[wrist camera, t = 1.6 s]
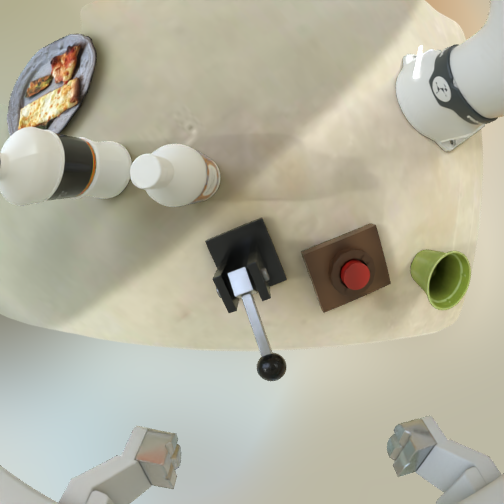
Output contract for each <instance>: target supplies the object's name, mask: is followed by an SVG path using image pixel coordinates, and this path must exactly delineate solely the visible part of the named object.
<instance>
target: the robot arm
mask: <svg viewBox="0 0 504 504" xmlns="http://www.w3.org/2000/svg"><path fill="white" fill-rule="evenodd" d="M422 47H423V46H422V45H421V46H419V50H418V55H413V54H407V55H405V56H404V58H403V68H402V70H401V72H400V73H399V75H398V77H397V81H396V94H397V99H398V102H399V105H400V107H401V110H402V112H403V113H404V115H405V117H406V118H407V120H408V121H409V122H410V124H411V125H412V126H413V127H414V128H415V129H416V130H417V131H418V132H420V133H421V134H422V135H424V136H426V137H428V138H430V139H432V140H434V141H435V142H436V143H437V144H438V145H439V146H440V147H441V148H442V149H443V150H444V151H446V152H448V151H451V150H453V149H454V148H455V147H457V146H458V145H460V144H461V143H462V142H464V141H465V140H466V139H468V138H469V137H471V136H472V135H473V134H475V133H476V132H477V131H479V130H480V129H481V128H483V127H484V126H485V124H487V123H490V122H492V121H494V120H496V119H497V118H498V117H501V116H504V0H490V9H489V14H488V18H487V21H486V22H485V24H484V26H483V27H482V28H481V29H480V30H479V31H478V32H477V33H475V34H474V35H473V36H472V37H470V38H469V39H468V40H466V41H465V42H463V43H462V44H460V45H453V46H451V47H448V48H446V49H444V50H443V51H441V50H434V49H430V50H428V51H426V52H424V53H423V54H421V53H422ZM450 141H451V143H450ZM394 432H395V434H394V435H392V436H391V437H390V439H389V441H388V444H387V451H388V454H389V457H390V458H391V459H393V460H395V461H394V464H393V467H394V469H395V471H396V473H397V476H398V477H399V476H403V475H406V474H409V473H413V472H416V473H417V474H418V475H420V476H421V477H422V478H424V479H425V480H427V481H428V482H430V483H431V484H432V485H434V486H435V487H437V488H438V489H440V490H441V491H443V492H444V494H443V495H442V496H441V497H440V498H439V499H438V500H437V502H436V504H504V474H502V475H501V473H500V472H499V470H498V469H497V467H496V466H495V464H494V463H493V461H492V460H491V458H490V457H489V456H487V455H484V454H482V453H480V452H477V451H475V450H473V449H471V448H468V447H466V446H463V445H461V444H459V443H457V442H455V441H453V440H447V438H446V437H445V435H444V434H443V432H442V431H441V429H440V428H439V426H438V425H437V423H436V422H435V420H434V419H433V418H432V417H431V416H426V417H423V418H420V419H415V420H412V421H409V422H405V423H401V424H398V425H397V426H396V427H395V429H394ZM177 441H178V437H177V435H176V434H175V433H170V432H164V431H159V430H154V429H150V428H145V427H140V426H136V427H135V428H134V429H133V431H132V433H131V435H130V437H129V439H128V441H127V443H126V445H125V448H124V450H123V452H122V454H121V456H118V455H116V456H115V457H113V458H111V459H109V460H107V461H106V462H104V463H102V464H100V465H98V466H96V467H95V468H92V469H90V470H89V471H87V472H85V473H83V474H81V475H79V476H76V477H74V478H72V479H71V481H70V482H69V484H68V486H67V488H66V490H65V492H64V493H63V495H62V497H61V499H60V501H59V503H57V502H55V501H54V500H52V499H50V498H48V497H46V496H45V495H43V494H41V493H40V492H38V491H36V490H35V489H33V488H32V487H30V486H29V485H27V484H25V483H24V482H23V481H21V480H20V479H18V478H17V477H15V476H14V475H12V474H11V473H10V472H8V471H7V470H6V469H4V468H3V467H2V466H1V465H0V504H130V503H131V502H132V501H134V500H135V499H136V498H137V497H139V496H140V495H141V494H142V493H144V492H145V491H146V490H147V489H149V488H150V487H151V485H154V486H159V487H164V488H170V489H174V485H175V482H176V478H177V475H176V472H175V470H176V469H177V468H179V466H180V462H181V448H180V446H179V445H178V444H177Z"/></svg>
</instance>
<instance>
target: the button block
mask: <svg viewBox="0 0 504 504" xmlns="http://www.w3.org/2000/svg"><path fill="white" fill-rule="evenodd" d="M301 253H302V256H303V259H304V261H305V264H306V267H307V270H308V272H309V275H310V278H311V281H312V283H313V286H314V289H315V292H316V295H317V298H318V300H319V303H320V306H321V308H322V310H323V312H327V311H329V310H332V309H334V308H337V307H339V306H341V305H344V304H346V303H348V302H351V301H353V300H355V299H358V298H360V297H362V296H365V295H367V294H369V293H371V292H373V291H376V290H378V289H380V288H382V287H384V286H386V285H389V284H391V283H390V278H389V274H388V270H387V265H386V261H385V257H384V253H383V250H382V246H381V242H380V239H379V235H378V231H377V228H376V225H373V224H368V225H365V226H363V227H361V228H358V229H356V230H353V231H351V232H348V233H346V234H344V235H341V236H339V237H336V238H334V239H331V240H329V241H326V242H324V243H321V244H319V245H316V246H314V247H311V248H309V249H306V250H304V251H301ZM351 260H358V261H361V262H362V263H363V264H365V265H366V266H367V267H368V269H369V271H370V278H369V281H368V283H367V284H366V285H365V286H364V287H363V288H361V289H359V290H352V289H349V288H348V287H347V286H346V285H345V284H344V282H343V281H342V279H341V270H342V268H343V266H344V265H345V264H346V263H347V262H349V261H351Z"/></svg>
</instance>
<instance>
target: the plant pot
mask: <svg viewBox="0 0 504 504" xmlns="http://www.w3.org/2000/svg"><path fill="white" fill-rule="evenodd" d="M411 275H412V278H413V279H414V280H415V282H416V283H417V284H418V285H419V286H420V287H421V288H422V289H423V290H424V291H425V292H426V294H427V296H428V299H429V302H430V303H431V305H432V306H433V307H434V308H436V309H438V310H448V309H450V308H452V307H454V306H455V305H457V304H458V303H459V302H460V300H461V299H462V298H463V296H464V295H465V293H466V291H467V289H468V286H469V283H470V278H471V269H470V263H469V261H468V259H467V257H466V256H465V255H464V254H463V253H461V252H458V251H450V252H447V253H443V252H438V251H432V250H422V251H420V252H419V253H418V254H417V255H416V256H415V258H414V260H413V262H412V264H411Z"/></svg>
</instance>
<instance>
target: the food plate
mask: <svg viewBox="0 0 504 504" xmlns="http://www.w3.org/2000/svg"><path fill="white" fill-rule="evenodd" d="M96 54H97V53H96V50H95V47H94V46H93V43H92V39H91V38H90V37H88V36H84V35H82V34H70V35H68V36H65V37H63V38H61V39H59V40H57V41H54V42H53V43H51V44H49V45H47V46H45V47H43V48H42V49H40V50H39V51H38V52H37V53H36V54H35V55H34V56H33V57H32V58H31V60H30V61H29V62H28V64H27V65H26V67H25V68H24V70H23V71H22V73H21V74H20V76H19V77H18V79H17V81H16V84H15V86H14V88H13V91H12V94H11V98H10V101H9V107H8V114H7V123H8V127H9V133H10V136H11V135H12V134H13V133H15V132H16V131H18V130H20V129H22V128H26V127H36V128H39V129H42V130H50V131H52V132H54V133H57V134H59V133H60V132H61V131H62V130H63V129H64V128H65V127H66V126H67V124H68V123H69V121H70V120H71V118H72V117H73V115H74V114H75V113H76V111H77V110H78V109H79V108H80V106H81V104H82V102H83V99H84V97H85V96H86V94H87V93H88V89H89V87H90V82H91V80H92V76H93V72H94V68H95V65H96V60H97V59H96V57H97V55H96Z"/></svg>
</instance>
